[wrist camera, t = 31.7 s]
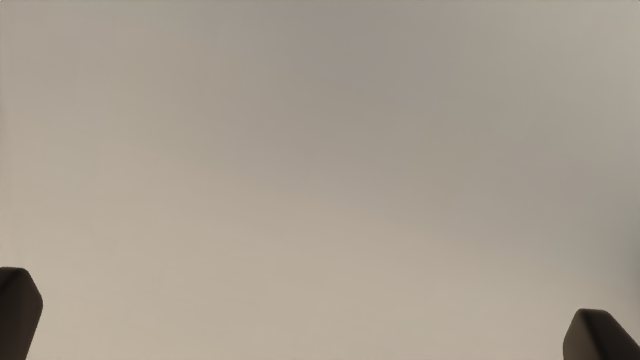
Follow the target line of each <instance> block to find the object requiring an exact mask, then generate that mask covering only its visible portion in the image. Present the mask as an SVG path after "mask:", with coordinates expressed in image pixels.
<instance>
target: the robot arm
mask: <svg viewBox="0 0 640 360" xmlns="http://www.w3.org/2000/svg"><path fill="white" fill-rule="evenodd" d="M42 308H43V300H42V297H41V295H40V293H39V291H38V289H37V287H36V285H35V283H34V281H33V279H32V278H31V276H30V274H29V272H28V271H27V270H25V269H24V268H16V267H1V268H0V360H25V359H26V357H27V354H28V351H29V348H30V345H31V342H32V339H33V336H34V333H35V330H36V328H37V325H38V322H39V319H40V316H41V313H42ZM563 358H564V360H640V347H639V346H638V344H637V343H636V342H635V341H634V340H633V339H632V338H631V337H630V335H629V334H628V333H627V332H626V331H625V330H624V329H623V328H622V327H621V325H620V324H619V323H618V322H617V321H616V320H615V319H614V318H613V316H612V315H611V314H609V313H608V312H606V311H604V310H597V309H579V310H578V311H577V312H576V313H575V315H574V317H573V320H572V322H571V324H570V326H569V329H568V331H567V333H566V336H565V338H564V342H563Z"/></svg>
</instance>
